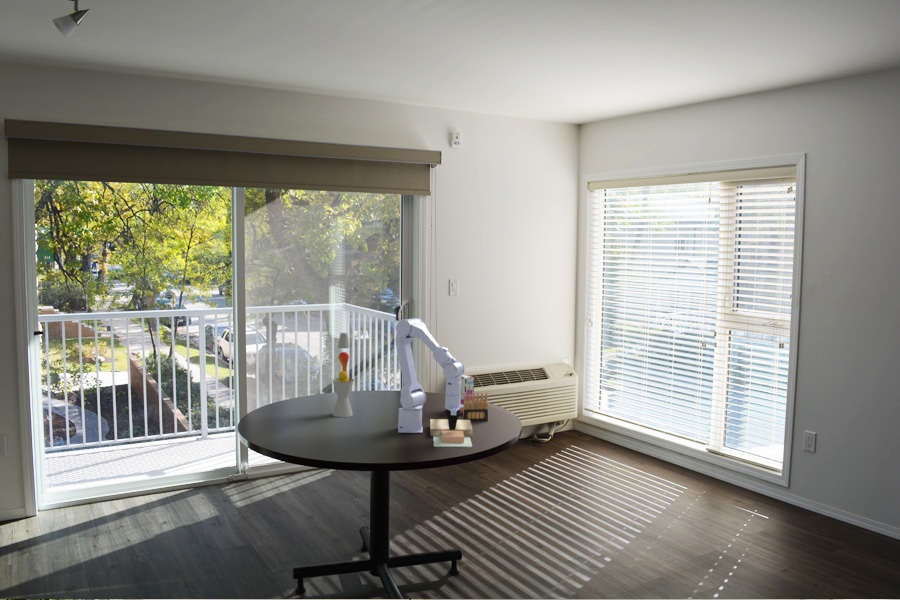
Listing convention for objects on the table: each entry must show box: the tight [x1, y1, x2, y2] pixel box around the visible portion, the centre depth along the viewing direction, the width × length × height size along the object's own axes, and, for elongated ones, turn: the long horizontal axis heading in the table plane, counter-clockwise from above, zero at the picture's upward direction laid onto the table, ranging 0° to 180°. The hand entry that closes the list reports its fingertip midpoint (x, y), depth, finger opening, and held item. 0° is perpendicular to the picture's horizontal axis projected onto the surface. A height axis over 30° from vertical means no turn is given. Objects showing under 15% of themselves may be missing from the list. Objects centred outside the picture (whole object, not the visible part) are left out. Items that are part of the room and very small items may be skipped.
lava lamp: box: [332, 332, 355, 418], centre depth 271 cm, size 9×9×35 cm
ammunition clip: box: [461, 392, 489, 422], centre depth 268 cm, size 11×2×12 cm, turn 101°
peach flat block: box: [442, 431, 464, 443], centre depth 240 cm, size 8×8×2 cm
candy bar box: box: [459, 373, 475, 415], centre depth 282 cm, size 11×5×16 cm, turn 37°
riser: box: [429, 418, 474, 438], centre depth 251 cm, size 16×14×3 cm
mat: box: [432, 436, 473, 448], centre depth 238 cm, size 14×12×1 cm
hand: (452, 429), depth 242 cm, fingers closed
